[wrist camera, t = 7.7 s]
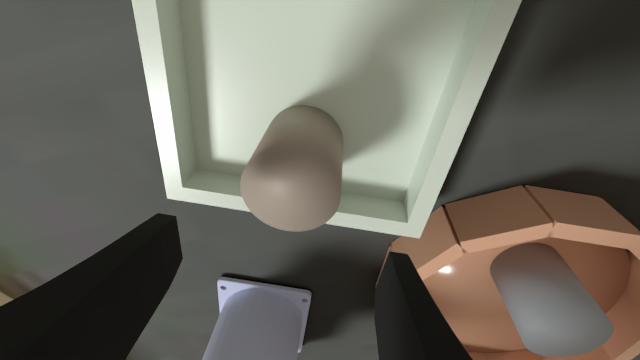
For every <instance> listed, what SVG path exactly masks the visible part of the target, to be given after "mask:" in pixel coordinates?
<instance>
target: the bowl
mask: <svg viewBox="0 0 640 360" xmlns="http://www.w3.org/2000/svg"><path fill="white" fill-rule="evenodd" d="M444 205H445V208H444V207H442V206H440V207H439V208H438V209H436V210H435V211H434V212H432V213H431V214H430V216H429V218H428V220H427V223H426V225H425V227H424V230H423V232H422V234H421V237H420V239H419V238H413V237H407V236H400V237H399V238H398V239H396V240H395V241H394V242H392V243H391V245H390V246H389V249H388V251H387V254H386V257H385V260H384V262H383V265H382V268H381V271H380V274H379V276H378V279H377V282H376V285H375V287H376V286H377V283H378V280H379V278H380V275H381V272H382V270H383V267H384V264H385V262H386V259H387V256H388V254H389V251H391V252H397V253H404V254H408V256H409V257H410V259H411V261H412V262H413V264H414V266H415V268H416V270H417V272H418V273H419V275H420V277H421V279H422V281H423V282H424V284H425V286H426V288H427V289H428V291H429V293H430V295H431V296H432V298H433V300H434V301H435V303H436V305H437V306H438V308H439V310H440V311H441V313H442V314H443V316H444V318H445V319H446V321H447V322H448V324H449V326H450V327H451V329H452V330H453V332H454V333H455V335H456V336H457V338H458V339H459V341H460V342H461V344H462V345H463V347H464V348H465V349H466V351H467V352H468V354H469V355H470V357H471V358H472V359H473V360H631V359H633V358H634V357H635V356H637V355H638V354H639V353H640V231H639V230H638V229H637V228H636V227H635V226H634V225H632V224H631V223H630V222H629V221H628V220H627V219H626V218H624V217H623V216H622V215H621V214H620V213H619V212H617V211H616V210H615V209H614V208H613V207H612V206H611V205H609V204H608V203H607V202H606V201H605V200H604V199H602V198H600V197H598V196H591V195H585V194H579V193H573V192H566V191H560V190H554V189H547V188H541V187H535V186H528V185H525V186H524V188H523V186H522V185H520V186H516V187H512V188H508V189H504V190H500V191H496V192H492V193H488V194H484V195H480V196H476V197H472V198H468V199H464V200H460V201H455V202H451V203H447V204H444ZM523 243H543V244H547V245H549V246H551V247H553V248H554V249H556V250H557V251H558V253H559V254H560V255H561V257H562V258H563V259H564V261H565V262H566V263H567V264H568V266H569V267H570V268H571V270H572V271H573V272H574V274H575V275H576V276H577V278H578V279H579V280H580V282H581V283H582V284H583V285H584V287H585V288H586V289H587V291H588V292H589V293H590V295H591V296H592V297H593V299H594V300H595V301H596V303H597V304H598V305H599V306H600V308H601V309H602V310H603V312H604V313H605V314H606V316H607V317H608V318H609V320H610V321H611V322H612V324H613V327H614V331H613V334H612V336H611V337H610V338H609V340H608V341H607V342H605V343H604V344H603V345H601V346H599V347H598V348H596V349H594V350H591V351H589V352H586V353H582V354H578V355H574V356H567V357H548V356H542V355H538V354H535V353H533V352H531V351H529V350H528V349H527V348H526V347H525V346H524V344H523V341H522V339H521V337H520V335H519V333H518V331H517V329H516V327H515V325H514V322H513V320H512V318H511V316H510V314H509V312H508V310H507V308H506V306H505V303H504V301H503V299H502V297H501V295H500V293H499V291H498V289H497V287H496V284H495V282H494V280H493V278H492V276H491V274H490V266H491V263H492V261H493V260H494V259H495V257H496V256H497V255H499V254H500V253H501V252H503V251H504V250H506V249H508V248H510V247H513V246H516V245H519V244H523Z"/></svg>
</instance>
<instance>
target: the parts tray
mask: <svg viewBox="0 0 640 360" xmlns="http://www.w3.org/2000/svg"><path fill="white" fill-rule="evenodd" d="M521 1H522V0H132V5H133V10H134V16H135V22H136V27H137V33H138V38H139V44H140V49H141V55H142V60H143V66H144V72H145V77H146V83H147V88H148V94H149V99H150V105H151V110H152V116H153V122H154V127H155V133H156V138H157V144H158V149H159V155H160V160H161V166H162V172H163V177H164V183H165V188H166V194H167V199H174V200H180V201H186V202H193V203H199V204H205V205H212V206H218V207H224V208H230V209H237V210H243V211H249V212H251V211H250V210H249V209H248V207H247V206H246V204H245V202H244V200H243V198H242V195H241V190H240V180H241V176H242V173H243V171H244V169H245V167H246V165H247V163H248V162H249V160H250V158H251V156H252V155H253V153H254V151H255V149H256V148H257V146H258V144H259V142H260V141H261V139H262V137H263V135H264V134H265V132H266V130H267V128H268V127H269V125H270V123H271V122H272V120H273V119H274V117H275V116H276V115H277V114H279V113H280V112H281V111H283V110H285V109H287V108H289V107H293V106H298V105H307V106H313V107H316V108H319V109H321V110H323V111H325V112H326V113H328V114H329V115H330V116H331V117H333V119H334V120H335V121H336V122H337V124H338V125H339V127H340V129H341V131H342V135H343V142H344V145H343V165H342V185H341V199H340V204H339V207H338V209H337V211H336V213H335V214H334V216H333V217H332V218H331V219H330V220H329V221H327V222H326V223H325V224H331V225H337V226H344V227H350V228H356V229H363V230H369V231H375V232H382V233H388V234H394V235H400V236H407V237H413V238H419V239H420V237H421V234H422V232H423V230H424V227H425V225H426V223H427V220H428V218H429V216H430V213H431V211H432V209H433V206H434V204H435V202H436V199H437V197H438V195H439V192H440V190H441V188H442V185H443V183H444V181H445V178H446V176H447V174H448V171H449V169H450V167H451V164H452V162H453V160H454V157H455V155H456V153H457V150H458V148H459V146H460V143H461V141H462V139H463V136H464V134H465V132H466V129H467V127H468V125H469V122H470V120H471V118H472V115H473V113H474V111H475V108H476V106H477V104H478V101H479V99H480V97H481V94H482V92H483V90H484V87H485V85H486V83H487V81H488V78H489V76H490V74H491V71H492V69H493V67H494V64H495V62H496V60H497V57H498V55H499V53H500V50H501V48H502V46H503V43H504V41H505V39H506V36H507V34H508V32H509V29H510V27H511V25H512V22H513V20H514V18H515V15H516V13H517V11H518V8H519V6H520V4H521Z"/></svg>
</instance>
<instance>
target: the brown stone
mask: <svg viewBox="0 0 640 360" xmlns="http://www.w3.org/2000/svg"><path fill="white" fill-rule="evenodd" d="M343 145H344V142H343V135H342V131H341V129H340V127H339V125H338V124H337V122H336V121H335V120H334V119H333V117H331V116H330V115H329V114H328V113H326V112H325V111H323V110H321V109H319V108H316V107H313V106H307V105H298V106H293V107H289V108H287V109H285V110H283V111H281V112H280V113H279V114H277V115H276V116H275V117H274V119H273V120H272V122H271V123H270V125H269V127H268V128H267V130H266V132H265V134H264V135H263V137H262V139H261V141H260V142H259V144H258V146H257V148H256V149H255V151H254V153H253V155H252V156H251V158H250V160H249V162H248V163H247V165H246V167H245V169H244V171H243V173H242V176H241V180H240V190H241V195H242V198H243V200H244V202H245V204H246V206H247V207H248V209H249V210H250V211H251V212H252V213H253V214H254V215H255V216H256V217H257V218H258V219H260V220H261V221H262V222H264V223H266V224H268V225H270V226H272V227H274V228H277V229H281V230H285V231H307V230H311V229H314V228H317V227H319V226H321V225H323V224H325V223H326V222H327V221H329V220H330V219H331V218H332V217H333V216H334V214H335V213H336V211H337V209H338V207H339V204H340V199H341V185H342V165H343Z"/></svg>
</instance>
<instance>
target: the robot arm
mask: <svg viewBox="0 0 640 360" xmlns="http://www.w3.org/2000/svg"><path fill="white" fill-rule="evenodd" d="M182 259H183V257H182V251H181V245H180V238H179V232H178V226H177V220H176V216H172V215H166V214H159V213H158V214H156V215H154V216H153V217H151V218H150V219H148V220H147V221H145V222H143V223H142V224H140V225H139V226H137V227H136V228H134V229H133V230H131V231H130V232H128V233H127V234H125V235H124V236H122V237H121V238H119V239H118V240H116V241H114V242H113V243H111V244H110V245H108V246H107V247H105V248H104V249H102V250H100V251H99V252H97V253H96V254H94V255H93V256H91V257H89V258H88V259H86V260H84V261H82V262H81V263H79V264H77V265H76V266H74V267H72V268H71V269H69V270H67V271H66V272H64V273H62V274H60V275H59V276H57V277H55V278H54V279H52V280H50V281H48V282H47V283H45V284H43V285H41V286H39V287H37V288H35V289H34V290H32V291H30V292H28V293H26V294H24V295H22V296H20V297H18V298H16V299H14V300H12V301H10V302H8V303H7V304H5V305H3V306H0V360H125V359H126V358H127V356H128V354H129V352H130V351H131V349H132V347H133V346H134V344H135V343H136V341H137V339H138V338H139V336H140V334H141V333H142V331H143V330H144V328H145V326H146V325H147V323H148V322H149V320H150V318H151V317H152V315H153V313H154V312H155V310H156V309H157V307H158V305H159V304H160V302H161V300H162V299H163V297H164V296H165V294H166V292H167V291H168V289H169V287H170V285H171V283H172V281H173V279H174V277H175V275H176V273H177V270H178V268H179V266H180V263H181V261H182ZM217 285H218V297H219V309H220V315H219V318H218V320H217V323H216V326H215V328H214V331H213V333H212V336H211V338H210V341H209V343H208V346H207V348H206V351H205V353H204V356H203V358H202V360H297V354H298V352H300V351H301V349H302V344H303V338H304V333H305V328H306V322H307V317H308V312H309V306H310V301H311V295H312V294H311V292H310V291H308V290H304V289H297V288H291V287H285V286H279V285H272V284H266V283H260V282H253V281H247V280H241V279H234V278H228V277H220V278H219V279H218V282H217ZM375 326H376V335H377V344H378V353H379V360H473V359H472V358H471V357H470V355H469V354H468V352H467V351H466V349H465V348H464V347H463V345H462V344H461V342H460V341H459V339H458V338H457V336H456V335H455V333H454V332H453V330H452V329H451V327H450V326H449V324H448V322H447V321H446V319H445V318H444V316H443V314H442V313H441V311H440V310H439V308H438V306H437V305H436V303H435V301H434V300H433V298H432V296H431V295H430V293H429V291H428V289H427V288H426V286H425V284H424V282H423V281H422V279H421V277H420V275H419V273H418V272H417V270H416V268H415V266H414V264H413V262H412V261H411V259H410V257H409V256H408V254H404V253H397V252H391V251H389V254H388V256H387V259H386V262H385V264H384V267H383V270H382V272H381V275H380V278H379V280H378V283H377V286H376V288H375Z"/></svg>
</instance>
